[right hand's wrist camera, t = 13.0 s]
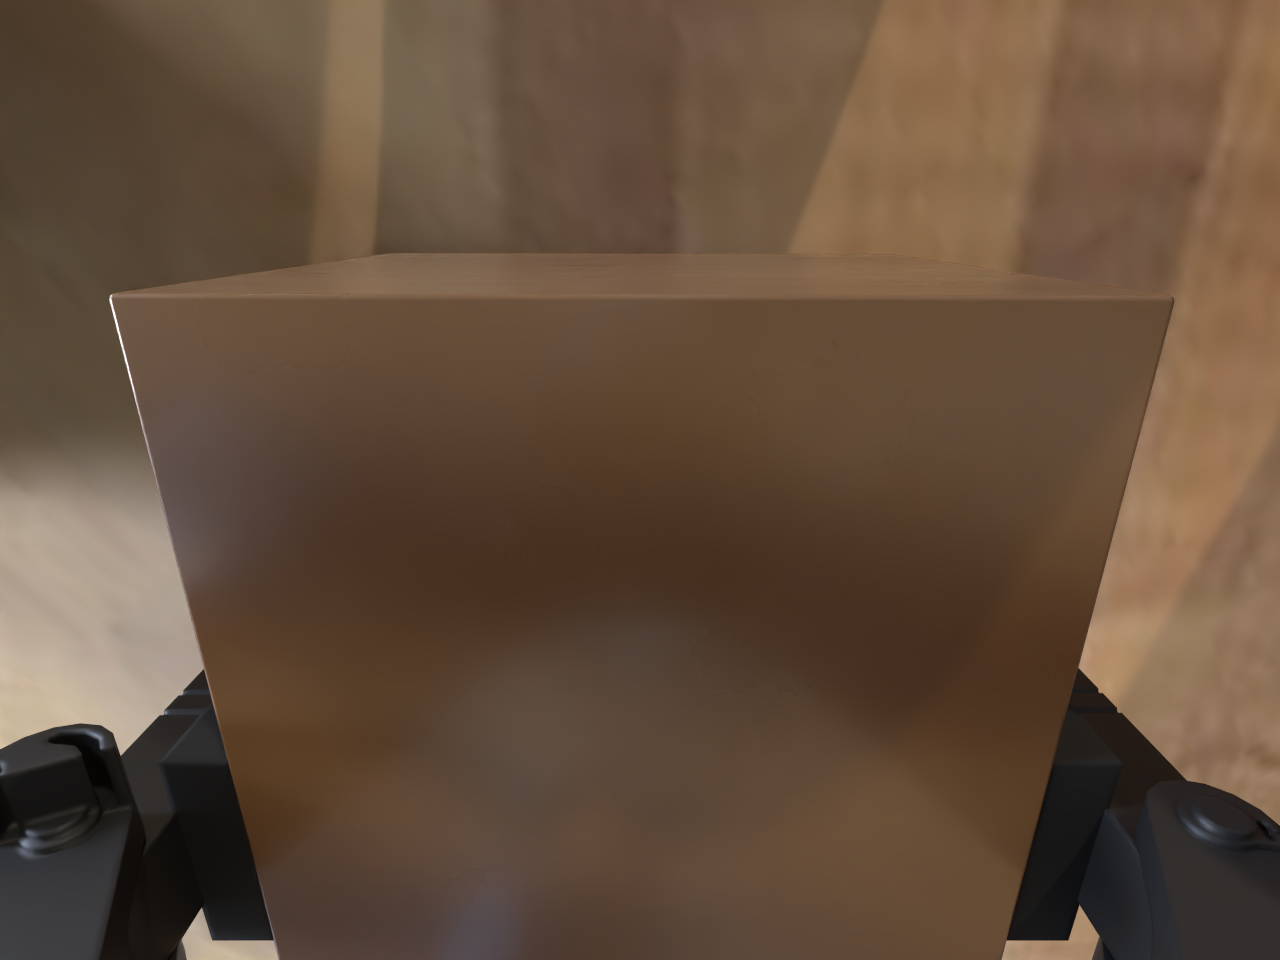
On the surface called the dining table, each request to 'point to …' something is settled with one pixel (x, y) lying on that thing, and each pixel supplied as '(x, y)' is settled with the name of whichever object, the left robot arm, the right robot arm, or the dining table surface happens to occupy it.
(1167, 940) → the right robot arm
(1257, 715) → the dining table surface
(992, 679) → the thick board
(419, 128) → the dining table surface
